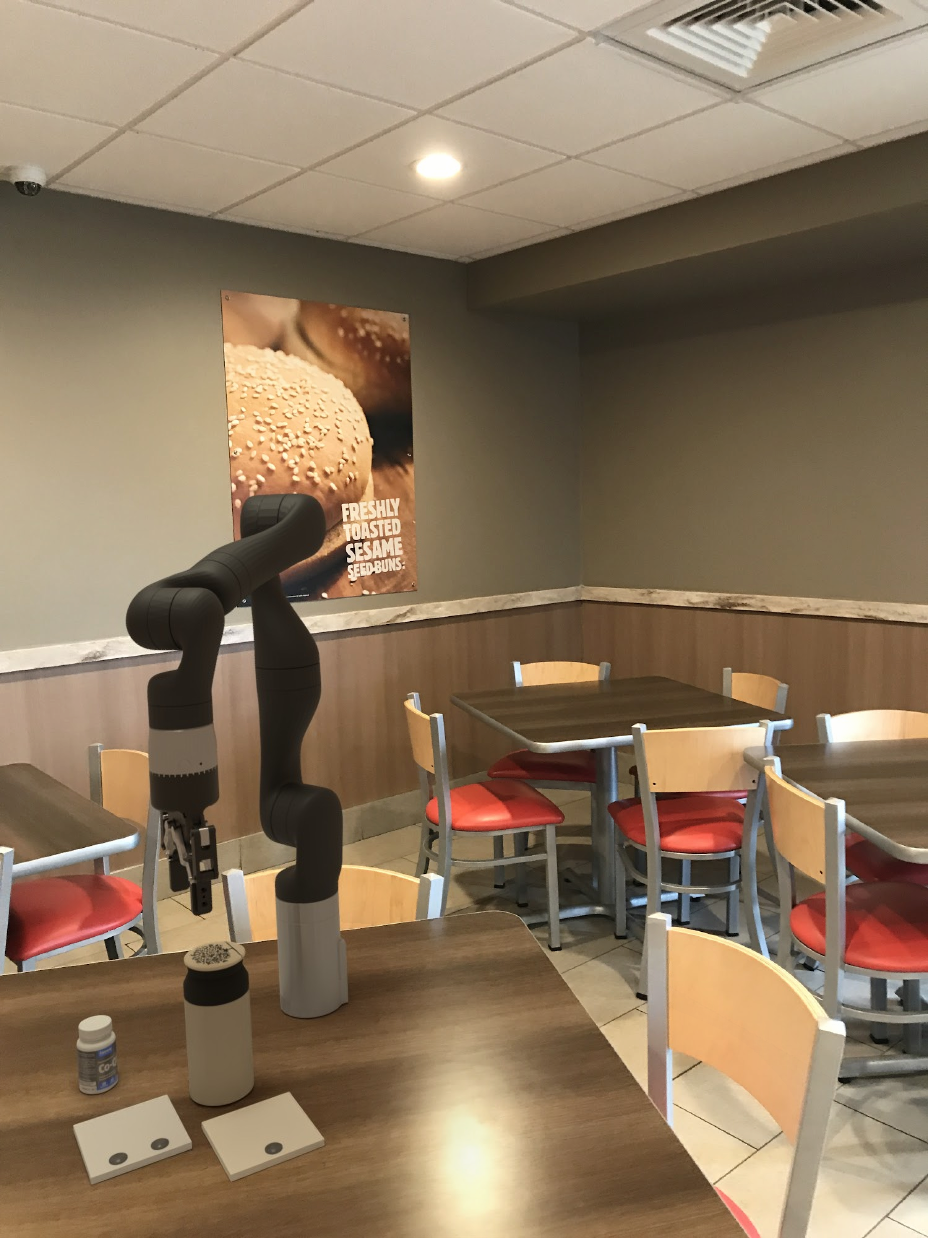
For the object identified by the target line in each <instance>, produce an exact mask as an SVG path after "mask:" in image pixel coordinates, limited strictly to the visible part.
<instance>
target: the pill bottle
mask: <svg viewBox="0 0 928 1238" xmlns="http://www.w3.org/2000/svg"><path fill="white" fill-rule="evenodd" d="M77 1028H78V1036H79V1038H77V1041H76V1058H77V1072H78V1073H77V1074H78V1075H77V1076H78V1087H79V1090H80V1091H81V1092H82V1093H83V1094H88V1095H97V1094H102V1093H105V1092H107V1091H109V1090H111V1089H112V1088H113V1087H115V1086H116V1084H117V1083H118V1082H119V1071H118V1056H117V1055H118V1053H117V1036H116V1034H115V1032H114V1031H113V1022H112V1018H111V1017H110V1016H108V1015H105V1014H101V1015H94V1016H93V1015H92V1016H90V1017H88V1018H84V1019H83V1020H81V1022H79V1024H78V1027H77Z"/></svg>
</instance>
